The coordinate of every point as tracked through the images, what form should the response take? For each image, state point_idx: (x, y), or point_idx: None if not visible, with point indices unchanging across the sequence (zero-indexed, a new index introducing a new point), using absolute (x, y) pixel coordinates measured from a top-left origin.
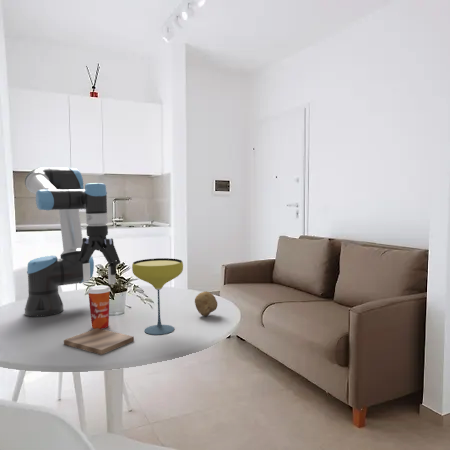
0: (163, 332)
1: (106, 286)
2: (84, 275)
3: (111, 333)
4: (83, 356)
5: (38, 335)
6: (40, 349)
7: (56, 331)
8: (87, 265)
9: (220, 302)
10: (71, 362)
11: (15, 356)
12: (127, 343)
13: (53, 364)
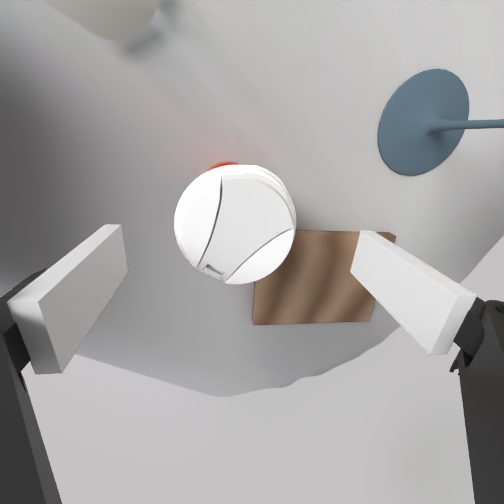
0: (447, 152)
1: (262, 197)
2: (113, 293)
3: (328, 246)
4: (336, 333)
5: (140, 314)
6: (231, 352)
7: (149, 277)
8: (63, 316)
9: None
10: (333, 355)
11: (221, 385)
12: None
13: (311, 371)
